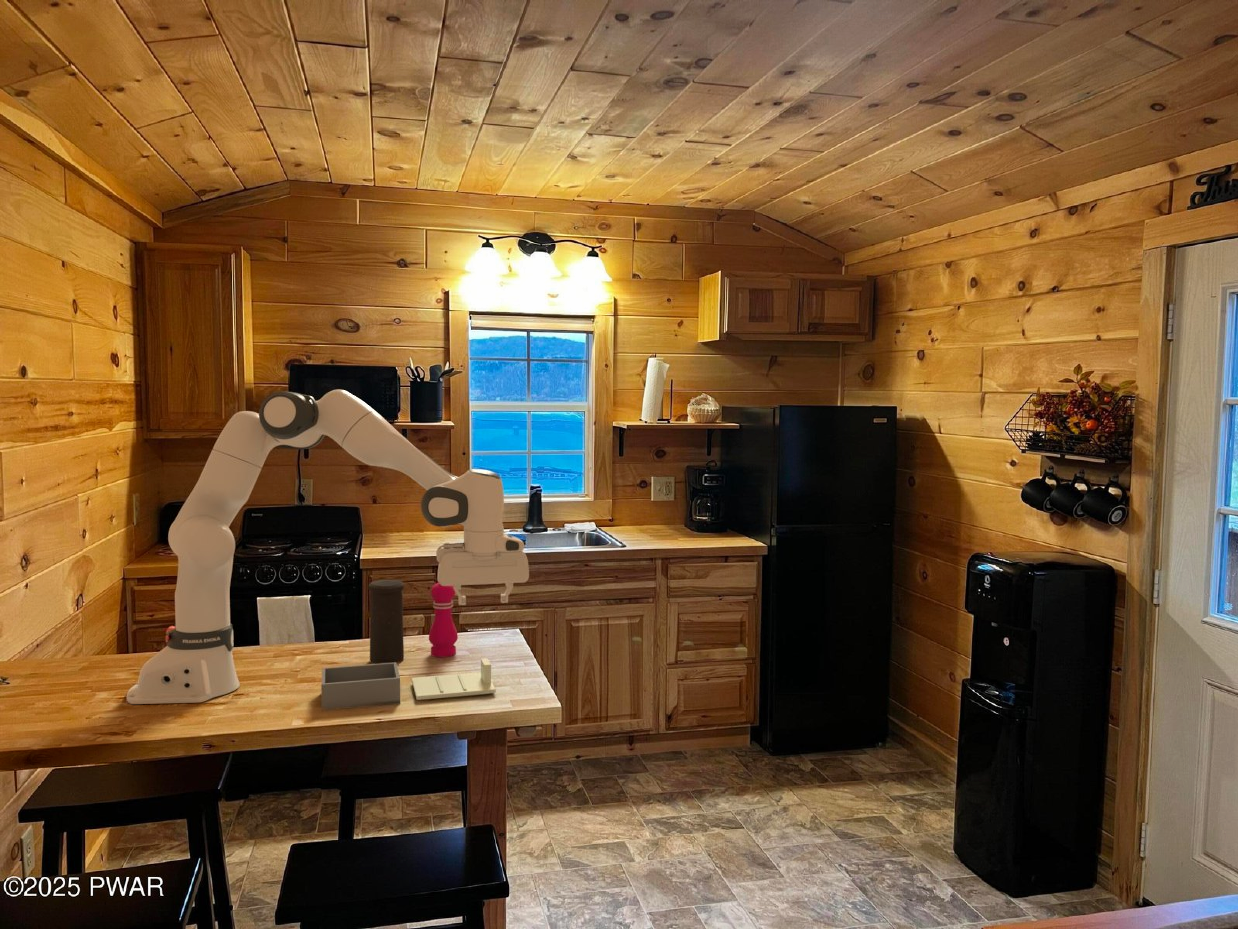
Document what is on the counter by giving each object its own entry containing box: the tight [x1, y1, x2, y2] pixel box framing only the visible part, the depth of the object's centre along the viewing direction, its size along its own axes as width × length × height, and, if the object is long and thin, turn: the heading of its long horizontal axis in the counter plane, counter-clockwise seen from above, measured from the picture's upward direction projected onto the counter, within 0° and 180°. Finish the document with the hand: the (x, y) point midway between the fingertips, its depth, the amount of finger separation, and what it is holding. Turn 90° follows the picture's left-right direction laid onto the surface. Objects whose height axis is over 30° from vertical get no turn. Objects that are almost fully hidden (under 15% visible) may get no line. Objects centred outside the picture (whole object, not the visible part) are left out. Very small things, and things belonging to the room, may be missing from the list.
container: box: [367, 579, 405, 664], centre depth 228 cm, size 9×9×20 cm
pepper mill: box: [428, 582, 459, 658], centre depth 234 cm, size 7×7×20 cm
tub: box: [320, 662, 401, 711], centre depth 201 cm, size 16×12×6 cm
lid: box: [411, 658, 497, 701], centre depth 207 cm, size 17×13×6 cm
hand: (483, 603), depth 207 cm, fingers open, 8 cm apart
